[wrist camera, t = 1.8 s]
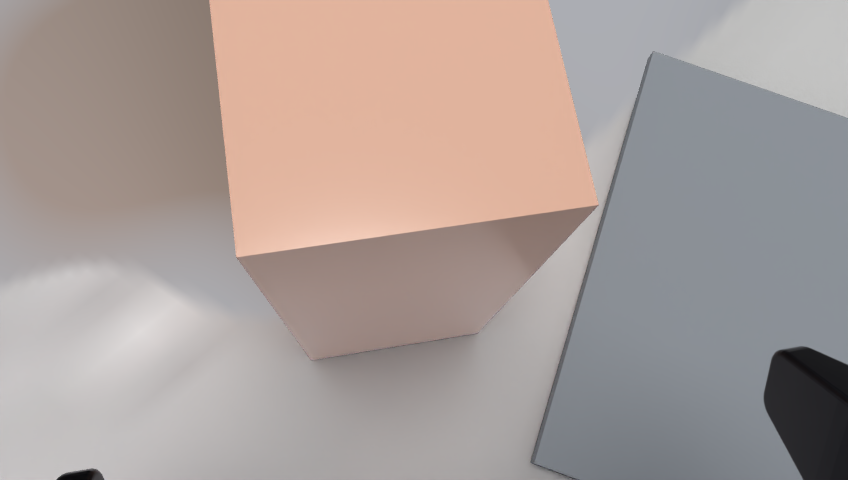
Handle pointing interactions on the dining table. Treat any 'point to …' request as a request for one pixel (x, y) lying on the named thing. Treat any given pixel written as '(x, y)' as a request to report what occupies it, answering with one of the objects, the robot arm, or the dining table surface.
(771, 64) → the dining table surface
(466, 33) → the tall salmon pink box
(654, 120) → the mat
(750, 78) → the dining table surface
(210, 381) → the dining table surface
